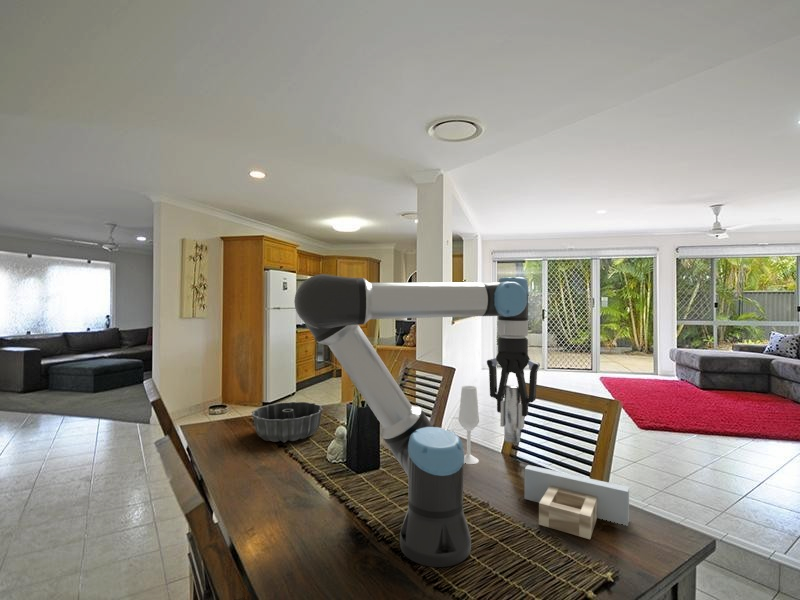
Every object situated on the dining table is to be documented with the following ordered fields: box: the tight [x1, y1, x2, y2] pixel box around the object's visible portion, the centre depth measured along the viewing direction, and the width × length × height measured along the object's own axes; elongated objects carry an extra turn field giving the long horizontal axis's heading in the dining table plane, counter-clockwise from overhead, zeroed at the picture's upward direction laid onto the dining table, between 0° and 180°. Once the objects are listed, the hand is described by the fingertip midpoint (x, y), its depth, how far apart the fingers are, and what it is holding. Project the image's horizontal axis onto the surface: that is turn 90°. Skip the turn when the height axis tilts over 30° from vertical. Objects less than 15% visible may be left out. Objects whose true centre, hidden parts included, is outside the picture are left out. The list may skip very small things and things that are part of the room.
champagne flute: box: [458, 385, 480, 465], centre depth 135 cm, size 7×7×24 cm
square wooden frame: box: [538, 486, 598, 540], centre depth 98 cm, size 11×11×5 cm
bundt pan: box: [251, 401, 324, 444], centre depth 159 cm, size 26×26×10 cm
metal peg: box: [503, 384, 521, 444], centre depth 107 cm, size 4×4×14 cm
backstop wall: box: [524, 464, 630, 527], centre depth 104 cm, size 3×24×8 cm, turn 57°
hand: (512, 426), depth 107 cm, fingers closed on metal peg, 4 cm apart
